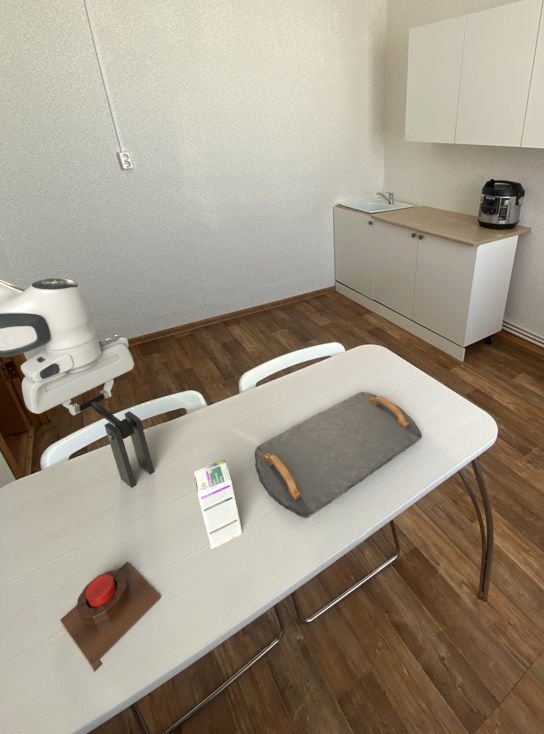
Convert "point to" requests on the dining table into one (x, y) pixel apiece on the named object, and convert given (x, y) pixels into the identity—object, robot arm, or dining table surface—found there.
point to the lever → (109, 416)
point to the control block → (109, 615)
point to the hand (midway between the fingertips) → (91, 405)
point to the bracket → (121, 452)
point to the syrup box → (218, 503)
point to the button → (100, 590)
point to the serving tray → (333, 452)
